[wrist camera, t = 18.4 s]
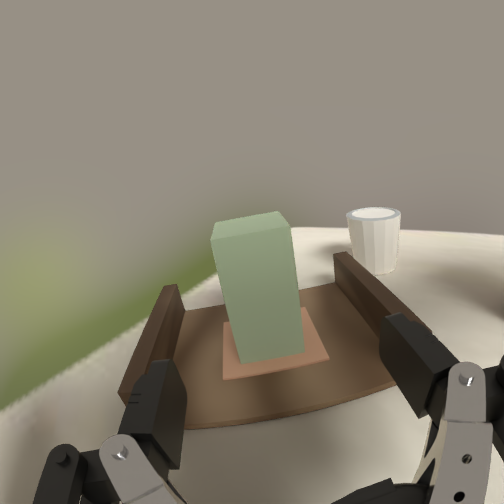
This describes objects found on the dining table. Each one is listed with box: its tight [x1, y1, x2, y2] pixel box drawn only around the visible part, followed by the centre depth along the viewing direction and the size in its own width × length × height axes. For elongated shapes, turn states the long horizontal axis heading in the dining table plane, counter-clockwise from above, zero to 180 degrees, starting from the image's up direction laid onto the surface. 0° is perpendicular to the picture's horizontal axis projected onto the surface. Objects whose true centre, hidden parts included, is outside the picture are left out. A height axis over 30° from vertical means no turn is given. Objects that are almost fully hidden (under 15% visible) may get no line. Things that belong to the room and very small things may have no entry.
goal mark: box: [223, 307, 329, 381], centre depth 23 cm, size 8×8×1 cm
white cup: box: [346, 207, 401, 275], centre depth 33 cm, size 7×7×7 cm
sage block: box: [210, 211, 305, 364], centre depth 22 cm, size 5×5×10 cm
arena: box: [118, 252, 432, 430], centre depth 23 cm, size 20×16×4 cm
